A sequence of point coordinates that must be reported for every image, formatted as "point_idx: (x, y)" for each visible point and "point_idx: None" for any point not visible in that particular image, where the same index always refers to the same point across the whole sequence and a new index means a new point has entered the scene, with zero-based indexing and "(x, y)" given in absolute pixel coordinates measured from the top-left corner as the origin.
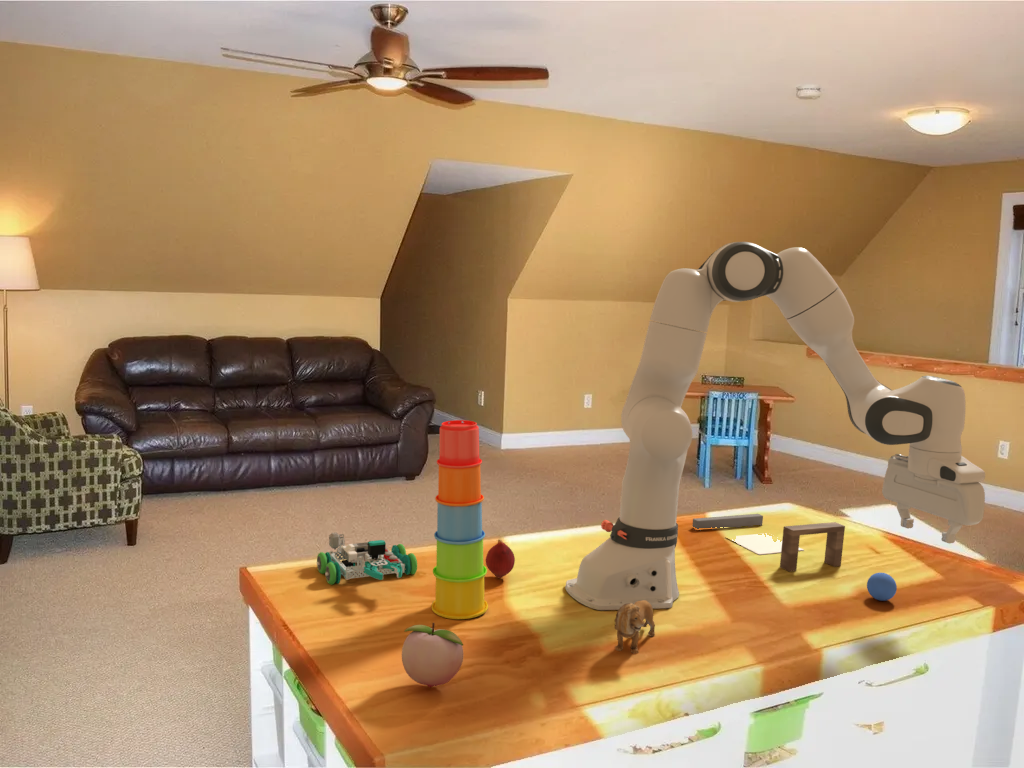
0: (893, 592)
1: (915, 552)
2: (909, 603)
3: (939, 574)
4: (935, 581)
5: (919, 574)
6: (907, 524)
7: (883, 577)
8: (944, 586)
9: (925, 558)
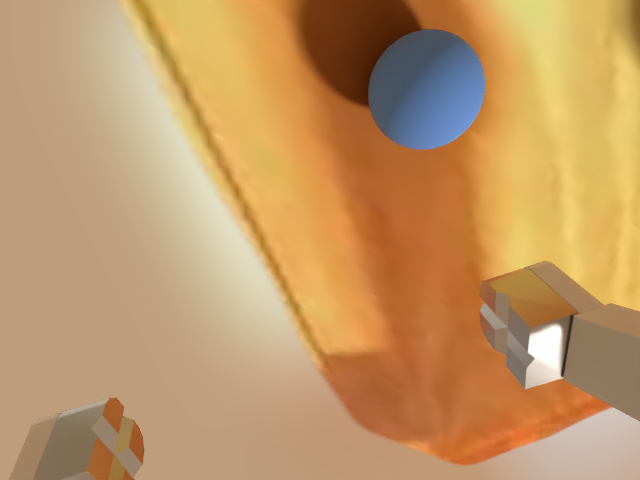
0: (371, 111)
1: None
2: (360, 170)
3: None
4: None
5: None
6: (505, 306)
7: (423, 89)
8: (450, 327)
9: None
